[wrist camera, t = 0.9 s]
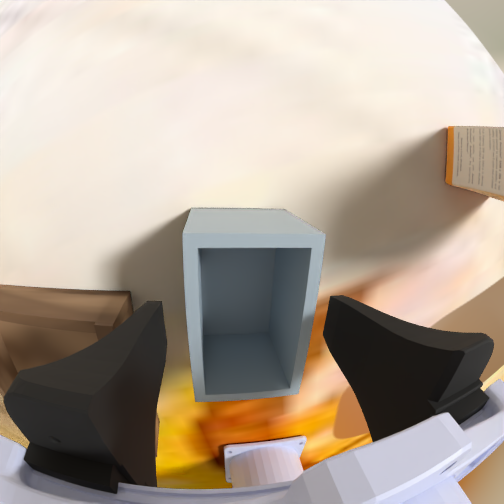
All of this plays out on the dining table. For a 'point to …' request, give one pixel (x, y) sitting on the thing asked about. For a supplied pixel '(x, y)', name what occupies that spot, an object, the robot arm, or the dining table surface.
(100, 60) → the dining table surface
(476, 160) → the supplement box
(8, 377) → the walnut crate
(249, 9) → the dining table surface
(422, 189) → the dining table surface
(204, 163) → the dining table surface
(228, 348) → the grey crate
